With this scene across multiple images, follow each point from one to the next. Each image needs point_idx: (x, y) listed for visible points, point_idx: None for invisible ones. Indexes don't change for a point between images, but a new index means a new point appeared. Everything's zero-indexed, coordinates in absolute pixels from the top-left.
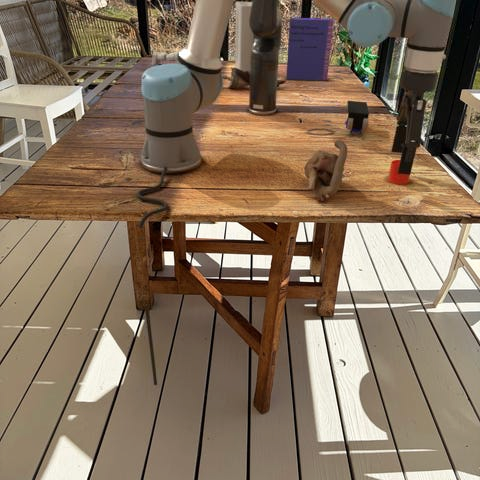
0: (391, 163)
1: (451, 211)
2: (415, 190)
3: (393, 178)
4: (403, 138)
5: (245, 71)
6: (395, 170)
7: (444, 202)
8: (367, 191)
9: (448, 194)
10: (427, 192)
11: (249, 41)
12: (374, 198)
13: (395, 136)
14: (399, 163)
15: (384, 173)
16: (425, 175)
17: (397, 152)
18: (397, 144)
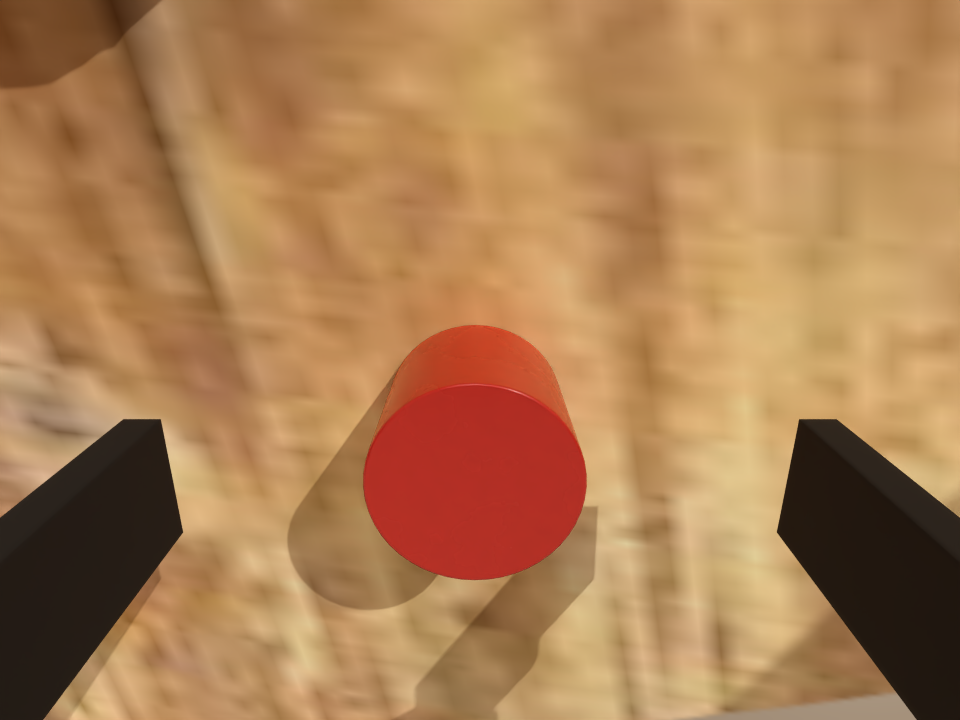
0: (465, 382)
1: None
2: (306, 508)
3: (403, 369)
4: (894, 645)
5: None
6: (392, 404)
7: (161, 653)
8: (150, 108)
9: (303, 693)
10: (295, 580)
11: None
12: (19, 166)
13: (938, 553)
14: (466, 465)
15: (619, 304)
16: (619, 609)
17: (788, 481)
18: (849, 522)
